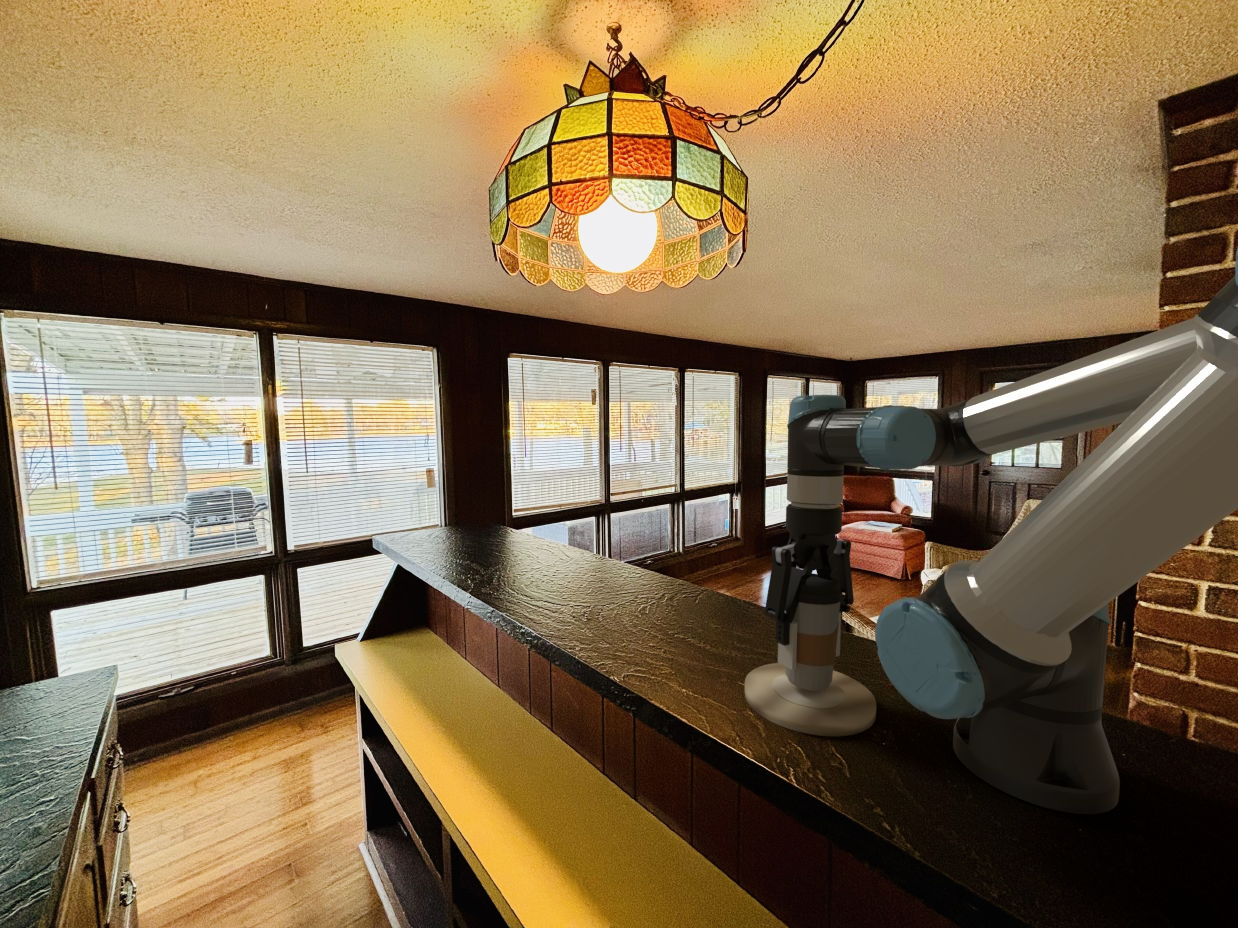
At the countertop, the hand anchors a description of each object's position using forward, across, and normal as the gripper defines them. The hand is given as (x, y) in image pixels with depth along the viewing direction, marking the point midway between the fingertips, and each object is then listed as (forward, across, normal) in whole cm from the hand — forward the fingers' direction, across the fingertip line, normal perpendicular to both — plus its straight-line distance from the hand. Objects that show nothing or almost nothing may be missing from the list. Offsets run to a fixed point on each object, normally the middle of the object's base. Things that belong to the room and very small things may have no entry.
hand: (809, 658), depth 75 cm
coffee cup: (+4, 0, 0) cm, 4 cm away
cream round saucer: (+6, 0, 0) cm, 6 cm away
